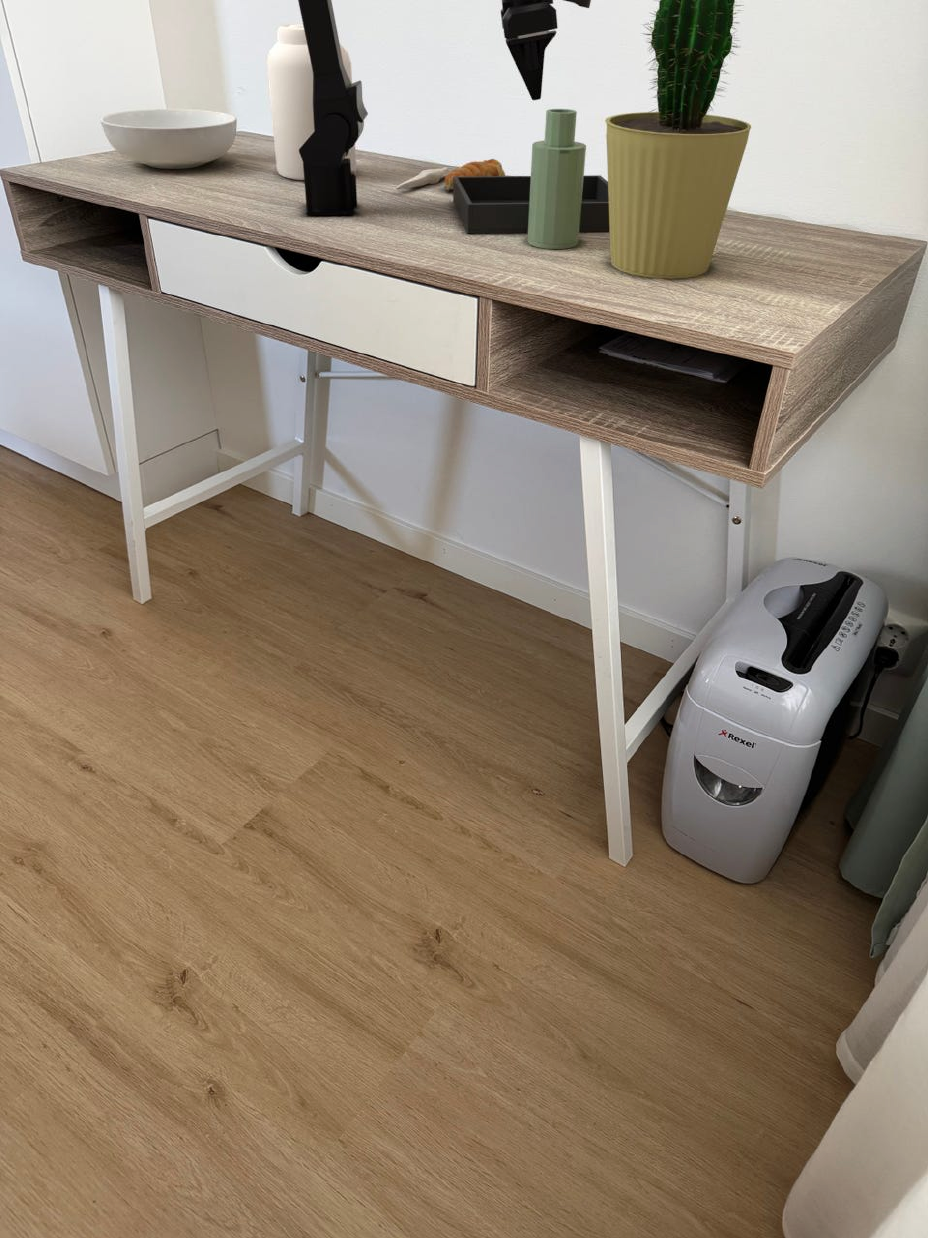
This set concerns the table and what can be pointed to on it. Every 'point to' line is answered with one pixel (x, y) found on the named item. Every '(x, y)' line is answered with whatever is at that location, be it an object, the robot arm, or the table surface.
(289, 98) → the cream vase
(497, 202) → the tray
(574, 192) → the bottle
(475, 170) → the pastry
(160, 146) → the serving bowl
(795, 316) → the table surface
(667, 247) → the potted cactus
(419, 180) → the parsnip
